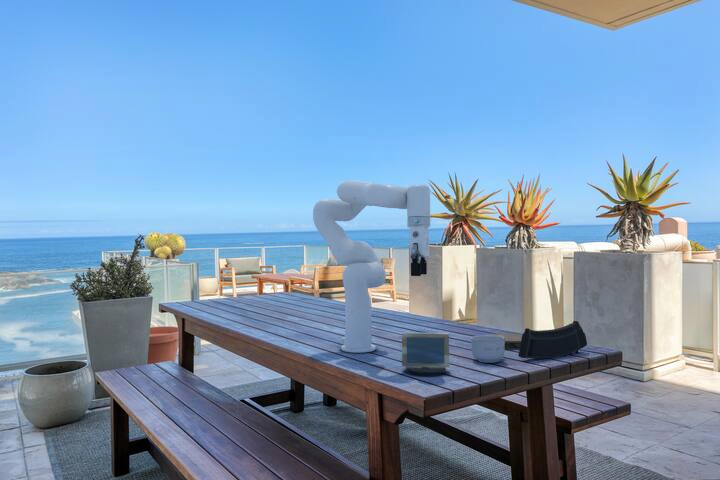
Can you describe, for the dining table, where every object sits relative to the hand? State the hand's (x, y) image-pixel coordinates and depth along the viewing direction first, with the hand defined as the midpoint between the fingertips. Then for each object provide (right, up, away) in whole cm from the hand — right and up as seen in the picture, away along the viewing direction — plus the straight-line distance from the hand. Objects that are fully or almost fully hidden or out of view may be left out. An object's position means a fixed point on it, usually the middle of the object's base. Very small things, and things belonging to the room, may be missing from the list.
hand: (419, 275), depth 164 cm
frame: (+1, -27, -11) cm, 29 cm away
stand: (0, -28, -13) cm, 31 cm away
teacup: (+24, -28, +1) cm, 37 cm away
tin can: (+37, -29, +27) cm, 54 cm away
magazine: (+47, -28, +7) cm, 55 cm away
